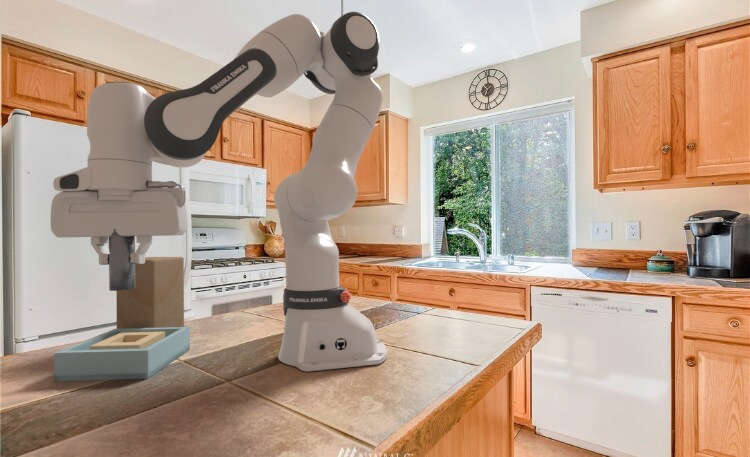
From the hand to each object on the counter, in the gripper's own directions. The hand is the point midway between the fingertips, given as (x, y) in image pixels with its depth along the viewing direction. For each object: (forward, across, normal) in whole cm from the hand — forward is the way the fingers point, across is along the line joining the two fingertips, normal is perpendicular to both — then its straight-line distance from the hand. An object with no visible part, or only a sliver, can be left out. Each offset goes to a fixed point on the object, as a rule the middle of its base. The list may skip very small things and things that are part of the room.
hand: (122, 264), depth 60 cm
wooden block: (+21, +10, -27) cm, 36 cm away
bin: (+21, +6, -12) cm, 25 cm away
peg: (+4, 0, 0) cm, 4 cm away
